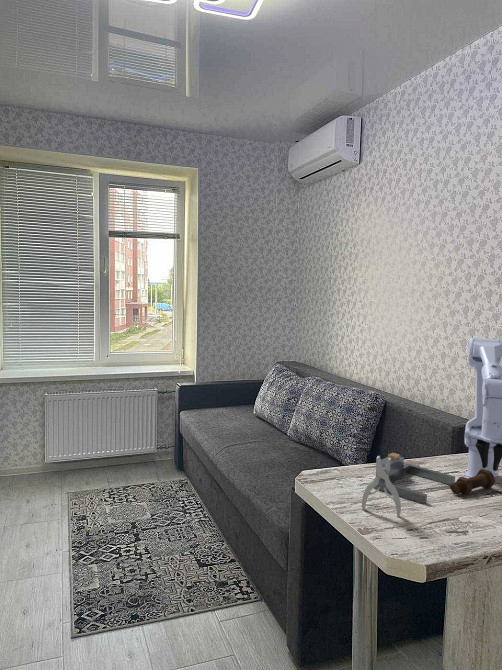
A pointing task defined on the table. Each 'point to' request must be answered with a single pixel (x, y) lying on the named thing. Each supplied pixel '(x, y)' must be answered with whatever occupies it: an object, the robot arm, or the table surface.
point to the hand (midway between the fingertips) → (490, 468)
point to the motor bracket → (401, 470)
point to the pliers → (384, 475)
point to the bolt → (473, 482)
